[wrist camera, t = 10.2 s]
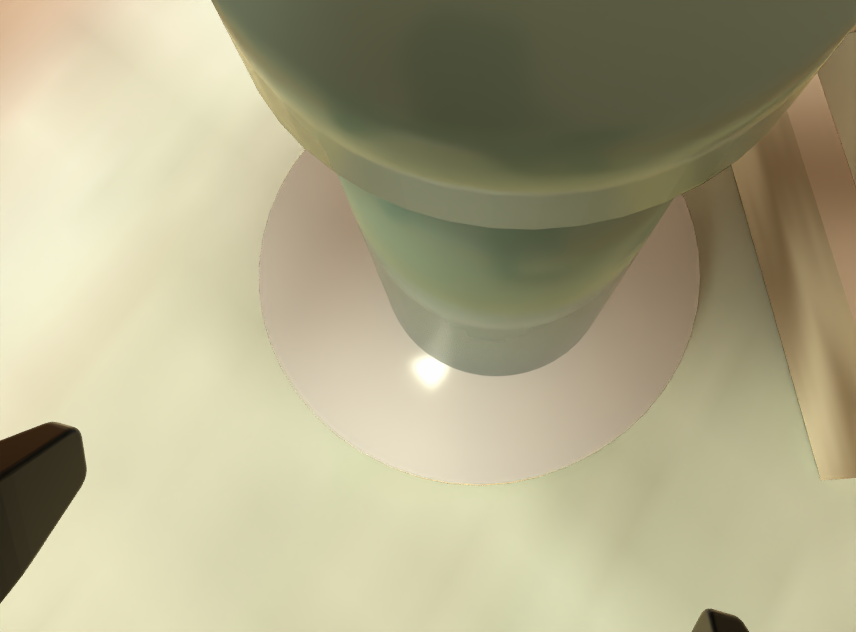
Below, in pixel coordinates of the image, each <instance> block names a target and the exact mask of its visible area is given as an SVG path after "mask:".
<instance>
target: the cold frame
mask: <svg viewBox="0 0 856 632" xmlns="http://www.w3.org/2000/svg"><path fill="white" fill-rule="evenodd" d="M854 31H856V24H855V26H854V27H853V28H852V29H851V31H850V32H854ZM732 169H733V172H734V176H735V179H736V183H737V186H738V190H739V193H740V197H741V201H742V204H743V208H744V211H745V215H746V218H747V222H748V225H749V229H750V232H751V236H752V239H753V243H754V246H755V250H756V253H757V257H758V260H759V264H760V267H761V271H762V274H763V278H764V282H765V285H766V289H767V292H768V296H769V299H770V303H771V306H772V310H773V313H774V317H775V320H776V324H777V327H778V331H779V334H780V338H781V341H782V345H783V348H784V352H785V355H786V359H787V362H788V366H789V370H790V373H791V377H792V380H793V384H794V387H795V391H796V394H797V398H798V401H799V405H800V408H801V412H802V415H803V419H804V422H805V426H806V429H807V433H808V436H809V440H810V443H811V447H812V451H813V454H814V458H815V461H816V465H817V468H818V472H819V475H820V479H821V480H832V479H845V478H856V186H855V183H854V180H853V177H852V174H851V171H850V168H849V165H848V162H847V159H846V156H845V153H844V150H843V147H842V144H841V141H840V138H839V135H838V132H837V130H836V127H835V124H834V121H833V118H832V115H831V112H830V109H829V106H828V103H827V100H826V97H825V94H824V91H823V88H822V85H821V82H820V79H819V76H818V73H817V74H816V75H815V76H814V77H813V79H812V80H811V81H810V82H809V84H808V85H807V86H806V87H805V89H804V90H803V91H802V92H801V94H800V95H799V96H798V97H797V99H796V100H795V101H794V103H793V104H792V105H791V106H790V107H789V109H788V110H787V111H786V112H785V113H784V115H783V116H782V117H781V118H780V119H779V121H778V122H777V123H776V124H775V125H774V127H773V128H772V129H771V130H770V131H769V133H768V134H767V135H765V136H764V137H763V138H762V139H761V140H760V141H759V142H758V143H757V144H755V145H754V146H753V147H752V148H751V149H750V150H749V151H748V152H746V153H745V154H744V155H743V156H742V157H741V158H740V159H739V160H737V161H736V162H734V163H733V164H732Z"/></svg>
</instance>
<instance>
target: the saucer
mask: <svg viewBox="0 0 856 632" xmlns="http://www.w3.org/2000/svg"><path fill="white" fill-rule="evenodd" d="M699 288H700V265H699V251H698V245H697V240H696V234H695V229H694V225H693V222H692V219H691V216H690V213H689V210H688V207H687V204H686V201H685V199H684V197H683V195H682V194H681V195H679V196H677V197H675V198H674V199H673V201H672V202H671V204H670V205H669V207H668V208H667V210H666V211H665V213H664V214H663V216H662V217H661V219H660V221H659V222H658V224H657V225H656V227H655V228H654V230H653V231H652V233H651V234H650V236H649V237H648V239H647V241H646V242H645V244H644V245H643V247H642V248H641V250H640V251H639V253H638V254H637V256H636V257H635V259H634V261H633V262H632V264H631V265H630V267H629V268H628V270H627V271H626V273H625V274H624V276H623V277H622V279H621V280H620V282H619V284H618V285H617V287H616V288H615V290H614V291H613V293H612V294H611V296H610V297H609V299H608V300H607V302H606V304H605V305H604V307H603V308H602V310H601V311H600V313H599V314H598V316H597V317H596V319H595V320H594V322H593V324H592V325H591V327H590V328H589V330H588V331H587V332H586V334H585V335H584V336H583V337H582V338H581V340H580V341H579V342H578V343H577V344H576V345H575V346H574V347H572V348H571V349H570V350H569V351H568V352H567V353H565V354H564V355H562V356H561V357H559V358H558V359H557V360H555V361H553V362H551V363H549V364H547V365H545V366H543V367H541V368H538V369H535V370H532V371H529V372H526V373H521V374H516V375H509V376H482V375H477V374H471V373H467V372H464V371H461V370H457V369H454V368H452V367H450V366H448V365H446V364H443V363H441V362H439V361H438V360H436V359H435V358H433V357H432V356H430V355H429V354H427V353H426V352H425V351H424V350H422V349H421V348H420V347H419V346H418V345H417V344H416V343H415V342H414V341H413V340H412V339H411V338H410V337H409V336H408V334H407V333H406V332H405V330H404V329H403V327H402V326H401V324H400V323H399V321H398V319H397V317H396V315H395V313H394V311H393V309H392V307H391V304H390V302H389V299H388V297H387V294H386V292H385V290H384V287H383V285H382V282H381V280H380V277H379V275H378V272H377V270H376V268H375V265H374V263H373V260H372V258H371V255H370V253H369V251H368V248H367V246H366V243H365V241H364V238H363V236H362V233H361V231H360V229H359V226H358V224H357V221H356V219H355V216H354V214H353V211H352V209H351V207H350V204H349V202H348V199H347V197H346V194H345V192H344V190H343V187H342V185H341V182H340V180H339V177H338V175H337V174H336V173H334V172H333V171H332V170H331V169H329V168H328V167H327V166H326V165H324V164H323V163H322V162H321V161H319V160H318V159H317V158H316V157H314V156H313V155H312V154H311V153H309V152H308V151H307V150H306V149H305V151H304V152H303V153H302V155H301V156H300V157H299V159H298V160H297V161H296V162H295V164H294V165H293V167H292V168H291V170H290V172H289V173H288V175H287V177H286V179H285V180H284V182H283V184H282V185H281V187H280V189H279V192H278V194H277V196H276V199H275V201H274V203H273V206H272V208H271V211H270V213H269V217H268V221H267V224H266V228H265V231H264V235H263V240H262V247H261V255H260V262H259V292H260V299H261V306H262V314H263V319H264V323H265V326H266V330H267V333H268V337H269V340H270V344H271V346H272V348H273V350H274V353H275V355H276V357H277V360H278V362H279V364H280V366H281V369H282V370H283V372H284V374H285V375H286V377H287V378H288V380H289V382H290V383H291V385H292V387H293V388H294V390H295V391H296V393H297V394H298V395H299V397H300V398H301V399H302V400H303V402H304V403H305V404H306V405H307V406H308V408H309V409H310V410H311V411H312V412H313V414H314V415H315V416H316V417H317V418H318V419H319V420H321V421H322V422H323V423H324V424H325V425H326V426H327V427H328V428H329V429H330V430H331V431H333V432H334V433H335V434H336V435H337V436H338V437H340V438H341V439H343V440H344V441H346V442H347V443H349V444H350V445H352V446H353V447H354V448H356V449H357V450H359V451H360V452H362V453H364V454H366V455H368V456H370V457H372V458H374V459H376V460H378V461H380V462H382V463H384V464H386V465H388V466H390V467H392V468H394V469H397V470H400V471H402V472H405V473H408V474H411V475H414V476H417V477H420V478H424V479H429V480H434V481H439V482H444V483H449V484H462V485H478V486H481V485H495V484H509V483H513V482H518V481H523V480H528V479H533V478H537V477H540V476H543V475H546V474H549V473H552V472H554V471H557V470H560V469H563V468H566V467H568V466H570V465H572V464H574V463H576V462H578V461H580V460H582V459H584V458H586V457H588V456H590V455H592V454H594V453H596V452H597V451H599V450H601V449H602V448H604V447H605V446H606V445H608V444H609V443H611V442H612V441H613V440H615V439H616V438H618V437H619V436H620V435H622V434H623V433H625V432H626V431H627V430H628V429H629V428H630V427H631V426H632V425H633V424H634V423H635V422H636V421H637V420H638V419H639V418H640V417H641V416H643V415H644V414H645V413H646V412H647V410H648V409H649V408H650V407H651V405H652V404H653V403H654V402H655V400H656V399H657V398H658V397H659V395H660V394H661V393H662V392H663V390H664V389H665V387H666V386H667V384H668V382H669V381H670V379H671V377H672V376H673V374H674V372H675V370H676V369H677V367H678V365H679V364H680V361H681V359H682V356H683V354H684V351H685V349H686V346H687V344H688V342H689V339H690V337H691V333H692V329H693V325H694V321H695V317H696V313H697V308H698V298H699Z"/></svg>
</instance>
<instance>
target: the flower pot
mask: <svg viewBox="0 0 856 632" xmlns="http://www.w3.org/2000/svg"><path fill="white" fill-rule="evenodd" d="M211 1H212V2H213V4H214V6H215V8H216V10H217V12H218V14H219V16H220V18H221V20H222V22H223V24H224V26H225V28H226V30H227V31H228V33H229V35H230V37H231V39H232V41H233V43H234V45H235V47H236V49H237V51H238V53H239V55H240V57H241V58H242V60H243V62H244V64H245V66H246V68H247V70H248V72H249V74H250V76H251V78H252V80H253V82H254V84H255V86H256V87H257V89H258V91H259V93H260V95H261V96H262V97H263V99H264V100H265V102H266V103H267V105H268V106H269V108H270V109H271V110H272V112H273V113H274V115H275V116H276V118H277V119H278V121H279V122H280V123H281V124H282V125H283V126H284V127H285V128H286V129H287V130H288V131H289V133H290V134H291V135H292V136H293V137H294V138H295V139H296V140H297V141H298V142H299V143H300V144H301V145H302V146H303V147H304V149H306V150H307V151H308V152H309V153H311V154H312V155H313V156H314V157H316V158H317V159H318V160H319V161H321V162H322V163H323V164H324V165H326V166H327V167H328V168H329V169H331V170H332V171H333V172H334V173H336V174H337V175H338V177H339V180H340V182H341V185H342V187H343V190H344V192H345V194H346V197H347V199H348V202H349V204H350V207H351V209H352V211H353V214H354V216H355V219H356V221H357V224H358V226H359V229H360V231H361V233H362V236H363V238H364V241H365V243H366V246H367V248H368V251H369V253H370V255H371V258H372V260H373V263H374V265H375V268H376V270H377V272H378V275H379V277H380V280H381V282H382V285H383V287H384V290H385V292H386V294H387V297H388V299H389V302H390V304H391V307H392V309H393V311H394V313H395V315H396V317H397V319H398V321H399V323H400V324H401V326H402V327H403V329H404V330H405V332H406V333H407V334H408V336H409V337H410V338H411V339H412V340H413V341H414V342H415V343H416V344H417V345H418V346H419V347H420V348H421V349H422V350H424V351H425V352H426V353H427V354H429V355H430V356H432V357H433V358H435V359H436V360H438V361H439V362H441V363H443V364H446V365H448V366H450V367H452V368H454V369H457V370H461V371H464V372H467V373H471V374H477V375H482V376H509V375H516V374H521V373H526V372H529V371H532V370H535V369H538V368H541V367H543V366H545V365H547V364H549V363H551V362H553V361H555V360H557V359H558V358H559V357H561V356H562V355H564V354H565V353H567V352H568V351H569V350H570V349H571V348H572V347H574V346H575V345H576V344H577V343H578V342H579V341H580V340H581V338H582V337H583V336H584V335H585V334H586V332H587V331H588V330H589V328H590V327H591V325H592V324H593V322H594V320H595V319H596V317H597V316H598V314H599V313H600V311H601V310H602V308H603V307H604V305H605V304H606V302H607V300H608V299H609V297H610V296H611V294H612V293H613V291H614V290H615V288H616V287H617V285H618V284H619V282H620V280H621V279H622V277H623V276H624V274H625V273H626V271H627V270H628V268H629V267H630V265H631V264H632V262H633V261H634V259H635V257H636V256H637V254H638V253H639V251H640V250H641V248H642V247H643V245H644V244H645V242H646V241H647V239H648V237H649V236H650V234H651V233H652V231H653V230H654V228H655V227H656V225H657V224H658V222H659V221H660V219H661V217H662V216H663V214H664V213H665V211H666V210H667V208H668V207H669V205H670V204H671V202H672V201H673V199H674V198H675V197H677V196H679V195H681V194H683V193H685V192H687V191H689V190H691V189H693V188H695V187H697V186H699V185H701V184H703V183H705V182H706V181H708V180H709V179H711V178H712V177H714V176H715V175H717V174H718V173H720V172H721V171H723V170H724V169H726V168H727V167H729V166H730V165H732V164H733V163H734V162H736V161H737V160H739V159H740V158H741V157H742V156H743V155H744V154H745V153H746V152H748V151H749V150H750V149H751V148H752V147H753V146H754V145H755V144H757V143H758V142H759V141H760V140H761V139H762V138H763V137H764V136H765V135H767V134H768V133H769V131H770V130H771V129H772V128H773V127H774V125H775V124H776V123H777V122H778V121H779V119H780V118H781V117H782V116H783V115H784V113H785V112H786V111H787V110H788V109H789V107H790V106H791V105H792V104H793V103H794V101H795V100H796V99H797V97H798V96H799V95H800V94H801V92H802V91H803V90H804V89H805V87H806V86H807V85H808V84H809V82H810V81H811V80H812V79H813V77H814V76H815V75H816V74H817V72H818V71H819V70H820V68H821V67H822V66H823V65H824V63H825V62H826V61H827V60H828V58H829V57H830V56H831V55H832V53H833V52H834V51H835V50H836V48H837V47H838V46H839V44H840V43H841V42H842V41H843V39H844V38H845V37H846V36H847V34H848V33H849V32H850V31H851V29H852V28H853V27H854V26H855V24H856V0H211Z"/></svg>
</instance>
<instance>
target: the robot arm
mask: <svg viewBox="0 0 856 632" xmlns="http://www.w3.org/2000/svg"><path fill="white" fill-rule="evenodd" d="M86 471H87V468H86V461H85V454H84V448H83V441H82V436H81V433H80V431H79V430H78V429H77V428H75V427H72V426H68V425H65V424H61V423H57V422H48V423H45V424H42V425H40V426H37V427H34V428H32V429H29V430H27V431H24V432H21V433H19V434H16V435H14V436H11V437H8V438H6V439H3V440H1V441H0V603H1V602H2V601H3V599H4V598H5V597H6V596H7V594H8V593H9V592H10V591H11V589H12V588H13V587H14V585H15V584H16V583H17V582H18V580H19V579H20V578H21V576H22V575H23V574H24V572H25V571H26V569H27V568H28V567H29V565H30V564H31V562H32V561H33V559H34V558H35V556H36V555H37V553H38V552H39V550H40V549H41V547H42V546H43V544H44V543H45V541H46V540H47V538H48V536H49V535H50V533H51V532H52V530H53V529H54V527H55V526H56V524H57V523H58V521H59V520H60V518H61V517H62V515H63V514H64V512H65V511H66V509H67V508H68V506H69V505H70V503H71V501H72V500H73V498H74V497H75V495H76V494H77V492H78V491H79V489H80V488H81V486H82V484H83V482H84V480H85V477H86ZM692 632H749V631H748V629H747V628H746V626H745V625H744V623H743V622H742V621H741V620H740V619H739V618H738V617H736V616H734V615H731V614H728V613H724V612H721V611H717V610H714V609H706V610H705V611H703V612H702V614H701V615H700V617H699V619H698V621H697V623H696V625H695V626H694V628H693V630H692Z"/></svg>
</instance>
